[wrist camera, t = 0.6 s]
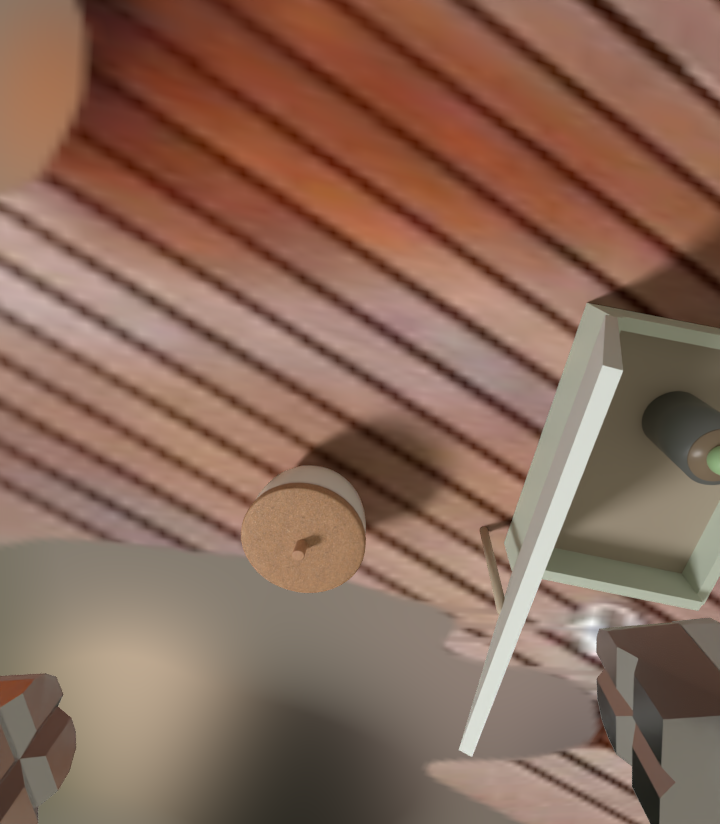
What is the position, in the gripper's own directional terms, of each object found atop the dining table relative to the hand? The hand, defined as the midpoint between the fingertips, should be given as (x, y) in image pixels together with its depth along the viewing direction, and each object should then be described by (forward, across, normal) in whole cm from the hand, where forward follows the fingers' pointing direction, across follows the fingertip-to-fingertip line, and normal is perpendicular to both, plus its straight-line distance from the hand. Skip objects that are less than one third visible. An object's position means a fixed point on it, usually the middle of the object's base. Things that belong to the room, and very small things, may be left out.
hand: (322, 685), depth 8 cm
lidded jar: (+40, +7, +15) cm, 44 cm away
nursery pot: (+37, -25, +10) cm, 46 cm away
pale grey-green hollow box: (+38, -20, +12) cm, 45 cm away
